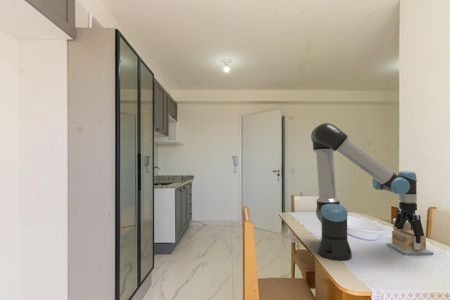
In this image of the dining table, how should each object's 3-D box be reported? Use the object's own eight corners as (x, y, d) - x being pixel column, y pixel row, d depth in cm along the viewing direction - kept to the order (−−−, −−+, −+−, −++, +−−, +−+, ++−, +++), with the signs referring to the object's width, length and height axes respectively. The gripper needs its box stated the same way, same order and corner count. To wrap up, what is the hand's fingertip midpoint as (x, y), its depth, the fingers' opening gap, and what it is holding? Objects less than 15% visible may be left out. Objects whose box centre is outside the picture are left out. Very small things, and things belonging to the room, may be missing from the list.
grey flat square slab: (404, 255, 128) (404, 252, 128) (386, 245, 142) (386, 243, 142) (433, 255, 128) (433, 252, 128) (412, 245, 142) (412, 242, 142)
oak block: (405, 251, 130) (405, 236, 130) (392, 244, 140) (392, 230, 140) (425, 250, 130) (425, 236, 130) (410, 244, 140) (410, 230, 140)
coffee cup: (416, 245, 142) (416, 222, 143) (397, 243, 144) (396, 221, 144) (408, 239, 151) (407, 218, 152) (390, 238, 153) (389, 217, 154)
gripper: (433, 206, 124) (434, 253, 123) (399, 198, 147) (400, 238, 146) (417, 206, 124) (418, 254, 123) (386, 198, 147) (387, 238, 146)
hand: (408, 245), depth 135 cm, fingers open, 11 cm apart
